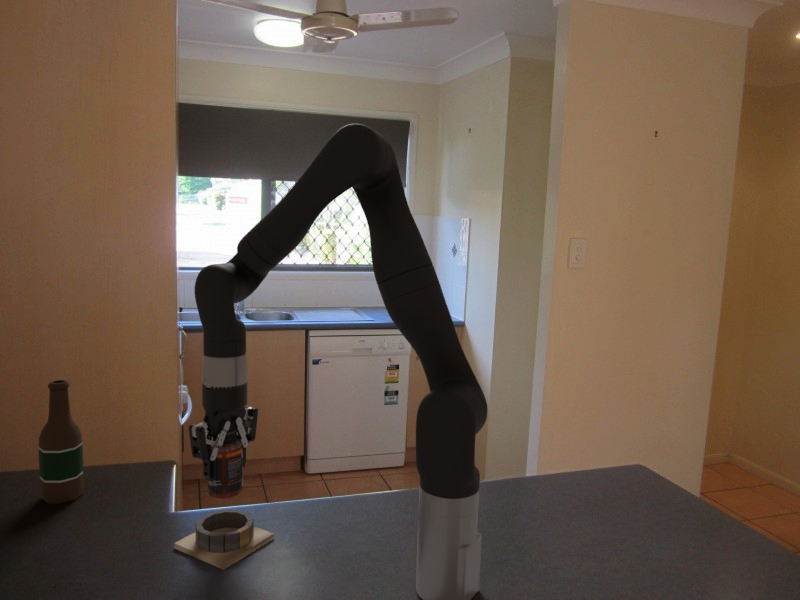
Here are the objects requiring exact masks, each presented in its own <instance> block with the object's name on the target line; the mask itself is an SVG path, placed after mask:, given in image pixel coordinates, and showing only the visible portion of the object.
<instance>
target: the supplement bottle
mask: <svg viewBox="0 0 800 600" xmlns="http://www.w3.org/2000/svg"><path fill="white" fill-rule="evenodd" d="M236 437H237V434H236V430H233V431H230V432H228V433H226V436H225V439H224V442H223V445H222V447H220V448H219V450H218V453H217V456H216V460H217V479H216V480H215V481H209V480H207V494H208V495H209V496H210V497H212V498H215V499H231V498H233V497H236V496H238V495H240V494H241V492H242V491H243V488H244V487H243V486H244V485H243V484H244V482H243V481H244V479H243V477H244V475H243V473H244V472H243V464H242V443H241V442H240V441H239V440H238V439H237V438H236ZM212 440H213V441H216V440H217V439H216V438H213V437H212ZM211 449H212V445H211V447H210V450H209V452H211Z"/></svg>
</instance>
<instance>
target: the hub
mask: <svg viewBox="0 0 800 600" xmlns="http://www.w3.org/2000/svg"><path fill="white" fill-rule="evenodd" d="M254 523H255V519H254V517H253V516H252V515H251V513H248V512H247V511H244V510H241V509H240V510H239V509H222V510H217V511H212V512H210V513H207V514H205V515H203V516H201V517H200V518H199V519H198V521H196V524H195V531H194V532H193V533H191V534H189V535H187V536H185V537H183V538H181V539H179V540H178V541H175V542H174V543H173V545H174V546H173V548H174V549H175V550H177V551H179V552H180V553H181V552H182V553H183V554H186V555H189V556H190V557H193V558H196V559H197V560H199V561H202V562H203V563H204V562H205V563H207V564H209V565H212V566H214V567H216V568H218V569H221V570H223V571H224V570H226V569H227V568H229V567H231V566H232V565H234V564H235V563H237V562H239V561H241V560H242V559H243V558H244V559H245V557H247V556H248V554H249V553H250V554H252V553H254V552H255V551H257V550H258V549H260V548H262V547H263V546H265V545H266V544H269V543H270V542H272V541H273V540H274V539H275V535H274V534H275V533H273V532H270V531H267V530H265V529H263V528H259V527H257V526H255V525H254ZM269 541H270V542H269ZM264 544H265V545H264ZM261 546H262V547H261ZM256 549H257V550H256ZM251 552H252V553H251ZM250 554H249V555H250ZM246 555H247V556H246Z"/></svg>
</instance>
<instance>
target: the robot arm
mask: <svg viewBox="0 0 800 600" xmlns="http://www.w3.org/2000/svg"><path fill="white" fill-rule="evenodd" d="M351 188H352V189H353V191H354V193H355V196H356V197H357V199H358V202H359V205H360V207H361V209H362V211H363V214H364V216H365V218H366V222H367V225H368V230H369V231H368V232H369V239H370V241H369V242H370V256H371V262H372V263H371V264H372V269H373V274H374V278H375V280H376V281H375V282H376V284H377V288H378V290H379V293H380V296H381V298H382V302H383V304H384V307H385V310H386V312H387V313H388V316H389V317H390V319H391V321H392V323H393V324H394V326H395V327H396V328H397V329H398V331H399V332H400V333H401V335H402V336H403V337H404V338H405V340H406V341H407V342H408V344H409V345H410V346H411V348H412V349H413V350H414V352H415V354H416V355H417V357H418V359H419V361H420V364H421V366H422V369H423V371H424V375H425V378H426V380H427V383H428V388H429V392H428V394H426V395H425V396H424V397H423V398H422V399H421V401H420V403H419V405H418V408H417V412H416V420H415V466H416V470H417V472H418V475H419V488H418V489H419V491H418V511H417V512H418V513H417V515H418V516H417V538H416V539H417V541H416V545H417V546H416V547H417V548H416V571H415V572H416V573H415V592H416V594H417V595H418V597H419V598H420V599H422V600H472V599H473V598H474V597H475V596H476V594H477V593H478V592H479V590H480V577H481V575H480V574H481V561H482V560H481V558H482V557H481V556H482V541H483V540H482V538H483V537H482V536H483V535H482V533H481V532H479V531H478V518H479V516H478V515H479V500H480V499H479V498H480V497H479V496H480V481H481V480H480V479H481V475H480V474H481V473H480V470H479V468H478V467H477V466H476V465H475V464H476V463H475V461H476V460H475V459H476V458H475V456H476V436H477V434H478V433H479V432H480V431H481V429H482V428H483V427H484V426H485V424H486V422H487V418H488V412H489V411H488V403H487V399H486V396H485V394H484V391H483V389H482V387H481V385H480V383H479V381H478V378H477V377H476V374H475V373H474V370H473V369H472V367H471V365H470V362H469V361H468V359H467V356H466V354H465V352H464V350H463V347H462V345H461V343H460V340H459V336H458V333H457V331H456V327H455V325H454V321H453V318H452V314H451V313H450V309H449V306H448V305H447V301H446V299H445V296H444V293H443V289H442V286H441V283H440V279H439V277H438V274H437V272H436V269H435V266H434V265H433V261H432V259H431V257H430V254H429V252H428V249H427V247H426V245H425V244H426V243H425V242H424V239H423V237H422V235H421V232H420V229H419V228H418V225H417V223H416V221H415V219H414V216H413V214H412V212H411V210H410V206H409V203H408V200H407V197H406V193H405V189H404V185H403V181H402V178H401V173H400V168H399V165H398V160H397V157H396V154H395V151H394V149H393V146H392V144H391V143H390V142H389V140H388V139H387V138H386V137H384V136H383V135H382V134H381V133H379V132H378V131H376V130H374V129H373V128H371V127H369V126H367V125H365V124H362V123H348V124H346V125H344V126H342V127H340V128H339V129H337V131H335V132H334V133H333V135H332V136H331V137H330V138H329V139H328V141H327V142H326V143H325V144H324V146H323V147H322V148H321V150H320V151H319V152H318V154H317V155H316V156H315V158H314V159H313V160H312V162H311V164H309V166H308V167H307V168H306V170H305V171H304V172H303V174H302V175H300V177H299V179H298V180H297V181H296V182H295V184H293V186H292V187H291V188H290V189H289V191H288V192H287V193H286V194H285V195H284V197H282V198H281V200H279V202H278V203H277V204H276V205H275V206H274V207H273V208H272V209H271V210H270V211H269V212H267V214H266V215H265V216H264V217H263V218H261V219H260V220H259V221H258V223H256V224H255V225H254V226H253V227H252V228H251V229H250V230H249V231H248V232H247V233H246V234H245V235H243V237H242V238H241V239H240V241H238V243H237V245H236V246H237V247H236V251H237V252H236V253H235V255H234V256H233V257H232V258H231V259H229V260H228V261H227V262H224V263H215V264H209V265H207V266H205V267H202V269H201V270H200V271H199V272H198V275H197V276H196V280H195V283H194V298H195V299H194V300H195V304H196V308H197V311H198V316H199V321H200V323H201V326H202V329H203V330H202V331H203V335H202V337H203V338H202V339H203V355H202V357H203V358H202V365H201V405H202V406H201V407H202V408H203V411H204V416H203V420H202V421H201V422H199V423H197V424H193V423H191V424H189V426H188V433H189V443H190V448H191V456H192V458H194V459H199V460H200V461H202V476H203V478H204V479H205V480H207V481H208V480H209V481H215V480H216V479H217V460H216V456H217V453H218V450H219V448H220V447H222V445H223V442H224V439H225V436H226V433H228V432H230V431H233V430H236V434H237V437H236V438H237V439H238V440H239V441H240V442H241V443H242V464H243V468H245V467H246V463H247V447H248V446H249V443H250V442H255V440H256V437H257V436H256V434H257V425H258V424H257V423H258V416H259V415H258V414H259V409H258V408H255V407H252V406H248V381H249V380H248V360H247V330H246V325H245V323H244V322H243V320H240V319H238V318H237V316H236V310H235V304H238V303H240V302H242V301H244V300H245V299H247V298H248V297H250V296H251V295H252V294H253V293H254V292H255V291H256V290H257V289H258V288H259V286H260V285H261V284H262V283H263V281H264V280H265V279H266V278H267V276H268V274H269V273H270V271H271V270H273V269H274V268H275V267H277V266H278V265H279V264H280V263H281V262H282V261H283V260H285V258H286V257H288V256H289V254H291V253H292V252H293V251H294V250H295V249H296V248H297V247H299V245H300V244H301V243H302V241H303V240H304V238H305V237H306V235H307V234H308V233H309V232H310V231H309V230H310V229H311V227H312V226H313V224H314V223H315V221H316V220H317V219H318V217H319V216H320V215H321V213H322V212H323V211H324V210H325V208H327V207H328V206H329V205H330V204H331V203H332V202H333V201H334V200H335V199H337V198H338V197H340V196H341V195H342V194H344V193H345V192H347V191H348V190H350V189H351ZM213 438H216V439H217V440H216V441H213ZM211 445H212V449H211V452H209V450H210V447H211Z"/></svg>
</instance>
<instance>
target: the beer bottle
mask: <svg viewBox="0 0 800 600" xmlns="http://www.w3.org/2000/svg"><path fill="white" fill-rule="evenodd" d="M69 387H70V383H69V381H68V380H64V379H59V380H58V379H56V380H53V381H50V382H48V385H47V389H49V394H48V395H49V396H48V400H49V401H48V415H47V416H48V417H47V422H46V423H45V425H44V426H43V428H42V429H41V432H40V434H39V437H38V464H39V465H38V466H39V467H38V468H39V470H38V472H39V490H40V491H39V492H40V498H41V499H42V500H43V502H44V503H46V504H47V505H49V504H51V505H53V504H54V505H55V504H56V505H57V504H58V505H59V504H61V505H62V504H65V503H69V502H72V501H76V500H77V499H78V498H79V497H81V496H82V495H83V493H84V491H85V490H84V488H85V487H84V486H85V480H84V478H85V477H84V453H83V451H84V446H83V437H82V436H83V435H82V432H81V430H80V428H79V426H78V424H76V422H75V421H74V419H73V418H72V413H71V407H70V406H71V405H70V398H69V397H70V396H69V389H68V388H69Z"/></svg>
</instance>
